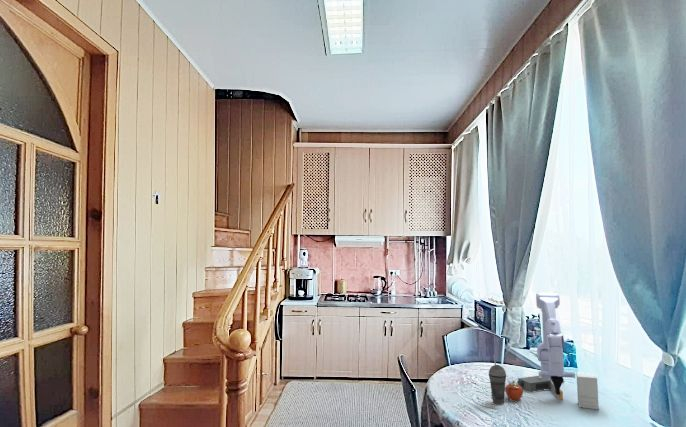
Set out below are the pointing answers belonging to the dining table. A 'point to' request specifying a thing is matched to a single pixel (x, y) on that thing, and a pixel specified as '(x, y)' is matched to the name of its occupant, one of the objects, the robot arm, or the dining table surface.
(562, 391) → the side door
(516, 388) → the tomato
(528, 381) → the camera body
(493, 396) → the beverage cup
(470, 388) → the dining table surface
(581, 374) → the supplement box
